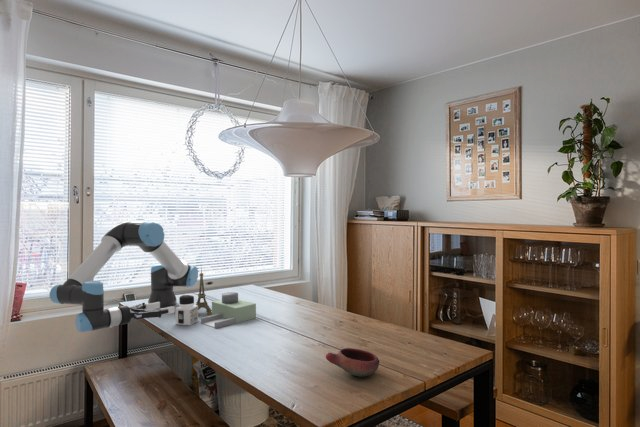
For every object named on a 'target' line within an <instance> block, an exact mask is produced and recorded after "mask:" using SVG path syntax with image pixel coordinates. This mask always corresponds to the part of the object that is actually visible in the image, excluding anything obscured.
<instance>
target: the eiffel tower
mask: <svg viewBox="0 0 640 427" xmlns="http://www.w3.org/2000/svg"><path fill="white" fill-rule="evenodd" d="M203 276H204V273H203V271H202V266H200V272H199V273H198V277H199V290H198V292H199V293H198V294H197V301H196V302H195V303H196V304H195V305H198V311H200V309H203V308H204V309H206V310H205V311H206V313H207V316H209V315H210V316H212V312H211V311H212V308H210V306H209V304H208V303H209V302H207V301H208V300H207V299H206V293H205V286H204V277H203ZM202 299H203V301H201V300H202Z"/></svg>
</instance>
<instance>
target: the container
mask: <svg viewBox="0 0 640 427" xmlns="http://www.w3.org/2000/svg"><path fill="white" fill-rule="evenodd" d="M178 299H179V306H178V307H174V313H175V315H174V316H175V321H174V322H175V323H174V324H175V325H178V326H181V325H182V326H191V325H193V324H195V323H197V322H198V321H199V310H198V305H196V304H195V296H194V295H192V294H184V295H181V296H179V298H178Z"/></svg>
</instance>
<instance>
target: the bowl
mask: <svg viewBox="0 0 640 427" xmlns="http://www.w3.org/2000/svg"><path fill="white" fill-rule="evenodd" d="M325 358H326V360H327V361H328V362H329V363H331V364H333V365H335V366H337V367H338V368H340V369H342V370H344V371H345V372H346V373H347V374H349V375H352V376H355V377H358V378H359V377H361V378H362V377H367V376H370V375H372V374H375V373H376V371H377V370H378V369H379V367H380V360H379V358H378V356H377V355H376V354H375V353H373V352H371V351H369V350H368V351H367V350H364V349H358V348H354V347H353V348H350V347H348V348H347V347H345V348H341V349H340V350H338V352H337V353H333V352H328V353H326V354H325Z"/></svg>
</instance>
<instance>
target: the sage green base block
mask: <svg viewBox="0 0 640 427" xmlns="http://www.w3.org/2000/svg"><path fill="white" fill-rule="evenodd" d="M211 310H212V315H210V316H208V315H207V316H204V317H201V318H200V323H201V324H202V325H205V326H208V327H211V328H215V329H218V328H222V327H227V326H231V325H233V324H237V323H241V322H245V321H248V320H253V319H256V318H257V304H256V303H254V302H251V301H247V300H242V299H239V293H238V292H235V291H231V292H230V291H229V292H224V293H222V294H221V299H219V300H214V301H211Z"/></svg>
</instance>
